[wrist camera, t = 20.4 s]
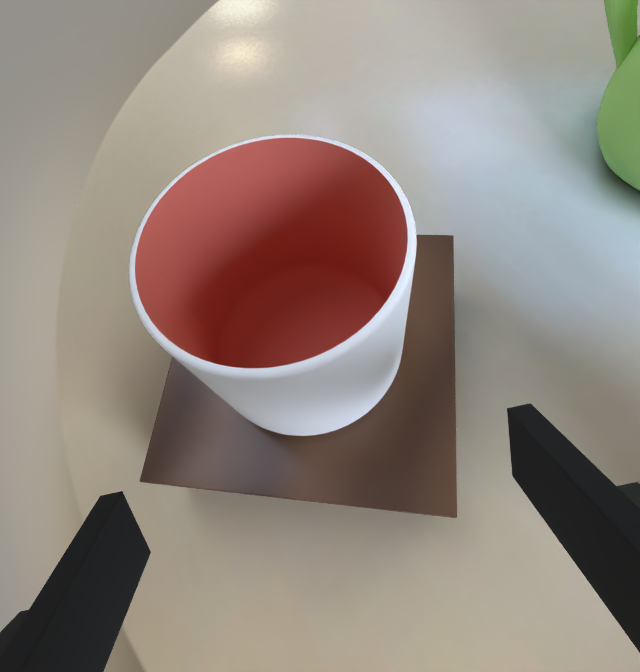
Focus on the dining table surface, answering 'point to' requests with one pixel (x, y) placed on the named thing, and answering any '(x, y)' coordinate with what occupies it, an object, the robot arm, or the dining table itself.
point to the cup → (281, 279)
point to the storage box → (340, 445)
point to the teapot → (622, 95)
